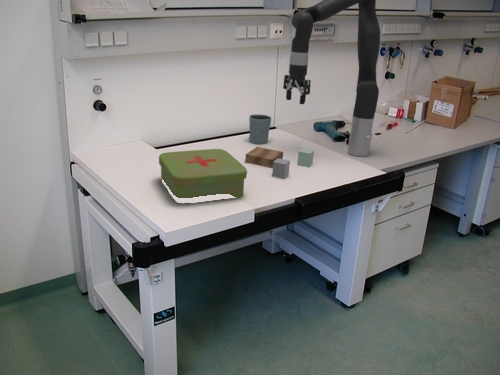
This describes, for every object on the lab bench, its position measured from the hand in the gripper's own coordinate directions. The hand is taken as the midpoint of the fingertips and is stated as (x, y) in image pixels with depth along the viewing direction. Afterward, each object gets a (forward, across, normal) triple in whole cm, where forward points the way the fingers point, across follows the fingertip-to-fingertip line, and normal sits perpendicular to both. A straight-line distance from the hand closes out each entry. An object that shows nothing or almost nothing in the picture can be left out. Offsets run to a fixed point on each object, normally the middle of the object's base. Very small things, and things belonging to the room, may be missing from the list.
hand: (295, 101), depth 208 cm
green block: (+23, -14, +4) cm, 27 cm away
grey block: (+23, -19, +22) cm, 37 cm away
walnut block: (+24, -3, +17) cm, 29 cm away
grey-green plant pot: (+23, +20, +2) cm, 31 cm away
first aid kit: (+23, -14, +55) cm, 61 cm away
